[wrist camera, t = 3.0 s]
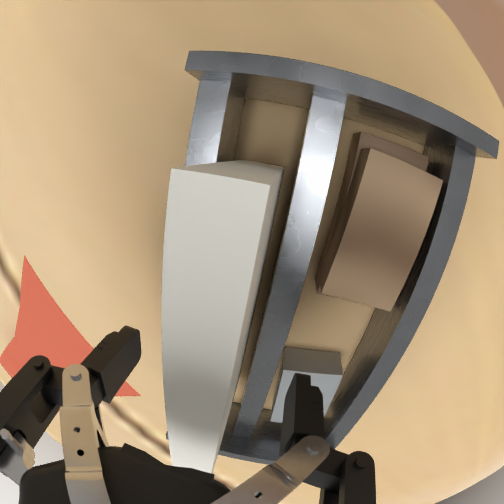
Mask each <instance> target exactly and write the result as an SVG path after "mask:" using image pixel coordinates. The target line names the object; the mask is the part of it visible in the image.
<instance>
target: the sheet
mask: <svg viewBox="0 0 504 504" xmlns="http://www.w3.org/2000/svg"><path fill="white" fill-rule="evenodd" d="M92 350H93V348H92V346H91V345H90V344H89V343H88V342H87V341H86V340H85V338H84V337H83V336H82V335H81V334H80V333H79V331H78V330H77V329H76V328H75V327H74V325H73V324H72V323H71V322H70V320H69V319H68V318H67V317H66V315H65V314H64V313H63V311H62V310H61V309H60V308H59V306H58V305H57V304H56V302H55V301H54V299H53V298H52V297H51V295H50V294H49V292H48V291H47V290H46V288H45V287H44V285H43V284H42V282H41V281H40V279H39V278H38V276H37V275H36V273H35V272H34V270H33V268H32V267H31V265H30V264H29V262H28V260H27V259H26V257H25V255H24V263H23V272H22V282H21V297H20V309H19V314H18V320H17V326H16V332H15V337H14V338H13V340H12V341H11V342H10V343H9V344H8V346H7V347H6V348H5V350H4V351H3V353H2V355H1V357H0V363H1V365H2V366H3V367H4V369H5V370H6V371H7V372H8V374H9V375H10V376H11V377H12V378H13V377H14V376H15V375H16V374H17V372H18V371H19V370H20V369H21V368H22V367H23V366H24V365H25V364H26V363H27V362H28V361H29V359H31V358H32V357H34V356H37V355H43V356H45V357H47V358H48V359H49V361H50V363H51V365H53V366H57V367H61V368H66V367H67V366H69V365H72V364H81V363H82V361H83V360H84V359H85V358H86V357H87V356H88V355H89V354H90V353H91V352H92ZM36 396H37V395H36ZM115 396H141V395H140V394H139V393H138V392H136V391H135V390H134V389H133V388H132V387H131V386H130V385H129V384H128V383H127V382H126V381H125V382H124V383H123V385H122V386H121V387H120V389H119V390H118V392H117V393H116V395H115ZM59 410H60V409H59Z"/></svg>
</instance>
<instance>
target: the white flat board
mask: <svg viewBox="0 0 504 504" xmlns="http://www.w3.org/2000/svg"><path fill="white" fill-rule="evenodd" d="M284 168H285V167H281V166H276V165H271V164H266V163H261V162H255V161H250V160H236V161H226V162H216V163H207V164H199V165H191V166H183V167H176V168H171V174H170V182H169V191H168V200H167V210H166V222H165V235H164V250H163V270H162V365H163V384H164V398H165V411H166V421H167V431H168V439H169V447H170V455H171V462H172V466H177V467H186V468H193V469H196V470H200V471H204V472H207V473H211V474H212V472H213V469H214V465H215V462H216V459H217V455H218V452H219V448H220V445H221V441H222V438H223V434H224V430H225V427H226V423H227V420H228V416H229V413H230V409H231V405H232V402H233V398H234V394H235V391H236V387H237V383H238V380H239V376H240V371H241V367H242V363H243V358H244V354H245V350H246V345H247V341H248V337H249V332H250V328H251V323H252V319H253V314H254V310H255V305H256V301H257V296H258V292H259V287H260V283H261V278H262V274H263V269H264V264H265V260H266V255H267V250H268V246H269V241H270V236H271V231H272V227H273V222H274V217H275V212H276V208H277V203H278V198H279V193H280V188H281V183H282V178H283V173H284Z"/></svg>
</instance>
